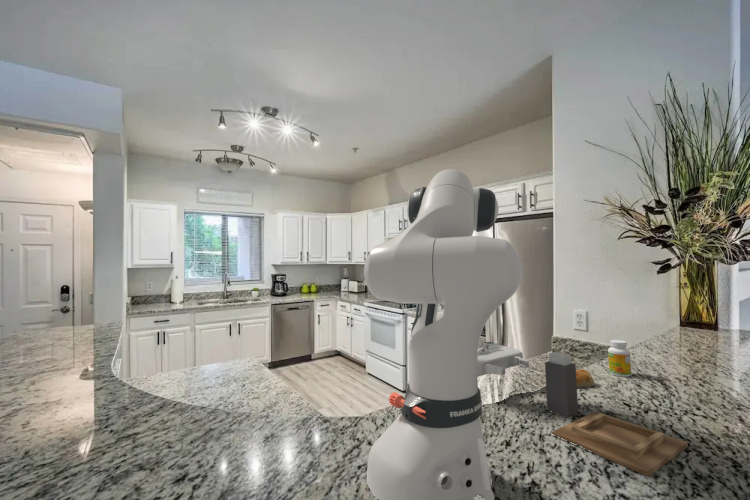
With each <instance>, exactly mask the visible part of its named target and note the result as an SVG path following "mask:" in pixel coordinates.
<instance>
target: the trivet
mask: <svg viewBox="0 0 750 500" xmlns="http://www.w3.org/2000/svg"><path fill="white" fill-rule="evenodd" d="M552 434H554V435H556V436H559V437H560V438H563V439H565V440H567V441H569V442H572V443H574V444H577V445H579V446H582V447H583V448H585V449H587V450H590V451H592V452H593V453H592V454H594V453H596V454H598V455H600V456H599V457H601V456H602V457H601V458H603V457H604V458H603V459H605V458H606V460H609V461H610V460H611V461H610V462H613V463H615V464H618V465H620V466H623V467H624V468H626V469H629V470H631V471H634V472H635V473H639V474H641V475H643V476H646V477H650V476H651V475H652V474H654V473H656V471H658V470H660V469H661V468H662V467H663V466H664V465H666V464H667V463H669V461H671V460H672V459H674V458H675V457H676V456H677V455H679V454H680V453H682V452H683V451H684V450H685V449H686V448H688V447H689V442H688V441H686V440H683V439H680V438H677V437H674V436H670V435H668V434H665V433H664V432H660V431H658V430H654V429H653V428H648V427H646V426H642V425H638V424H636V423H633V422H629V421H627V420H623V419H621V418H619V417H616V416H615V417H614V416H612V415H609V414H605V413H603V412H597V411H593V412H591V413H589V414H587V415H584V416H583V417H581V418H578V419H576V420H574V421H572V422H570V423H567V424H566V425H563V426H562V427H559V428H557V429H555V430H553V431H551V435H552ZM587 450H586V451H587ZM596 454H595V455H596ZM598 455H597V456H598Z"/></svg>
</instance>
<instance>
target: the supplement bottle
mask: <svg viewBox="0 0 750 500" xmlns="http://www.w3.org/2000/svg"><path fill="white" fill-rule="evenodd" d="M609 342H610V343H609V344H610V347H608V349H607V354H608V356H607V357H608V372H609V374H611V375H612V376H615V377H623V378H629V377H631V376H632V364H631V363H632V362H631V351H630V350H629V349H628V348H627V345H628V344H627V343H628V342H627V341H626V340H621V339H611V340H610V341H609Z"/></svg>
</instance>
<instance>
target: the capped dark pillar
mask: <svg viewBox="0 0 750 500" xmlns="http://www.w3.org/2000/svg"><path fill="white" fill-rule="evenodd" d="M548 359H549V361H545V362H544V369H545V388H546V390H545V393H546V409H547V410H549V411H548V412H550V411H552V412H554V413H553V414H555V413H557V414H556V415H558V414H559V415H558V416H561V415H562V416H561V417H563V416H565V417H564V418H566V417H570V418H571V416H572V417H573V415H574V416H577V415H578V414H579V408H578V407H579V405H578V403H579V402H578V388H577V383H576V370H577V368H576V363H573V362H572V358H571V354H567V353H563V352H557V351H554V352H550V353H548ZM552 412H551V413H552Z"/></svg>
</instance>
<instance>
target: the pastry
mask: <svg viewBox="0 0 750 500" xmlns="http://www.w3.org/2000/svg"><path fill="white" fill-rule="evenodd" d="M591 375H592V374H591V373H590V372H589V371H588V370H586V369H576V383H577V389H580V388H589V387H593V386H594V385H595V380H594V379H593V376H591Z"/></svg>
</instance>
